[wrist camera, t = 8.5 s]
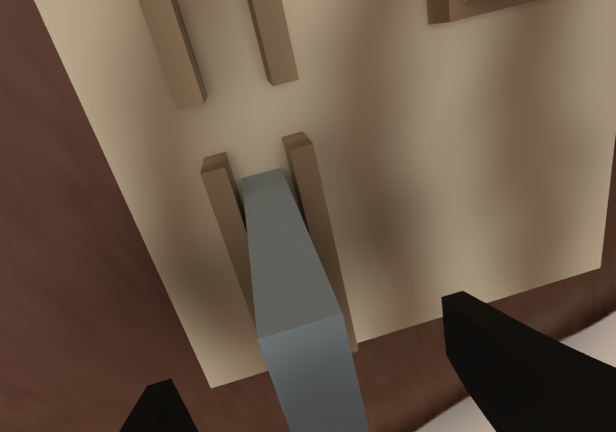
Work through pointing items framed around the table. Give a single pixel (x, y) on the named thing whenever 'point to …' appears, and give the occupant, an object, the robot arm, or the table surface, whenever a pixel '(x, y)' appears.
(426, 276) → the rack
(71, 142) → the table surface
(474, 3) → the plate
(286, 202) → the grey blue slab
